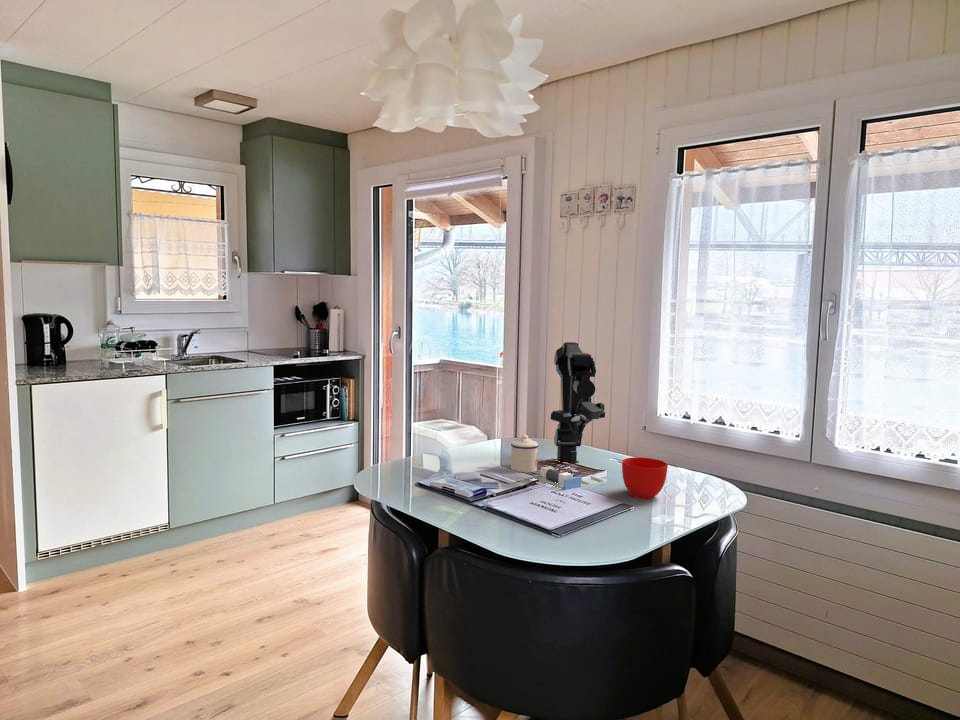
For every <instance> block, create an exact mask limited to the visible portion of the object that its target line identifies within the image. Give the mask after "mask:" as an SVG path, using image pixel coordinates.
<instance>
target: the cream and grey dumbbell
mask: <svg viewBox="0 0 960 720" xmlns="http://www.w3.org/2000/svg"><path fill="white" fill-rule="evenodd" d="M539 472H540V473H539V475H541V477H540V478H543V479H546V480H552V481H555V482H558V484H560V485H563V486H564V479H569V478H573V474H571V473H568V472H569V471H567V472H561V471H557V470H555V467H554V466H550V465H549V466H542V467H540V471H539Z"/></svg>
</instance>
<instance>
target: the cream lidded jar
mask: <svg viewBox="0 0 960 720" xmlns="http://www.w3.org/2000/svg"><path fill="white" fill-rule="evenodd" d="M510 446H511V453H510V454H511V457H510V459H511V460H510V470H512V471H513V470H515V471H514V472H517V471H518V472H517V473H534V472H536V471H537V470H538V453H539V451H538V450H539V443H538V442H537V441H534V440H533V439H531V438H529V436H528V435H527V434H523V435H521V437H520V438H518V439H517V440H514V441H512V442H511V443H510Z"/></svg>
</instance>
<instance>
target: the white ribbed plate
mask: <svg viewBox="0 0 960 720" xmlns="http://www.w3.org/2000/svg"><path fill="white" fill-rule="evenodd" d="M570 470H572V471H575V472H577V469H576V470H575V469H570ZM592 475H593V474H591V475H588V476H590V477H591V479H587V480H582V477H573V478H569V479H564V486H563V485H560V484H557V483H558V482H556V483H555V481H552V480H546V479H543V478H540V477H541V475H540V474H533V475H532V478H535V479H537V480H539V482H536V483H535V484H538V485H540V486H543V485H544V484H546V483H548V484H550V485H553V486H555V487H553V486H552V487H551V488H549V487H547V488H548V489H551V490H554V491H556V492H557V491H561V490H564V489H565V490H564V491H568V490H573V489H577V488H582V487H583V486H588V485H593V484H598V483H602V482H608V481H609V480H608V479H607V478H603V477H599V476H597V477H595V476H596V475H594V476H592ZM557 487H558V488H557ZM559 488H561V489H559ZM572 488H573V489H572Z"/></svg>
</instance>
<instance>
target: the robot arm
mask: <svg viewBox="0 0 960 720" xmlns="http://www.w3.org/2000/svg"><path fill="white" fill-rule="evenodd" d="M553 363H554V365H555V370H556V373H557V374H558V375H559V377H560V391H561V392H560V394H561V395H560V396H561V397H560V398H561V399H560V400H561V401H560V402H561V410H559V409H557V410H552V412H551V413H550V421H554V422H558V424H557V428H556V429H555V433H554V437H553V440H554V441H553V444H554V445H555V446H556V447H557V455H556V456H557V458H556V460H558V461H560V462H568V463H574V464H578V463H580V461H578V460H577V458H578V457H577V455H578V454H577V453H578V451H577V447H581V446H582V439H583V435H584V434H583V432H584V429H585V427H586V425H588V424H589V423H590V422H591V423H592V421H593V420H599V419H604V418H606V410H605V403H603V402H597V403H593V402H592V397H593V396H594V394H595V393H596V386H595V384H594V382H592V380H591V378H595V377H596V373H597V369H596V363H595V361H594V358H593V357H592V355H591V354H590V353H587V352H583V351H582V349H581V348H580V346H579V343H578V342H571V341H570V342H569V341H566V342H563V343H562V346H561V347H559V348H557V349H556V350H555V353H554V359H553Z"/></svg>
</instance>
